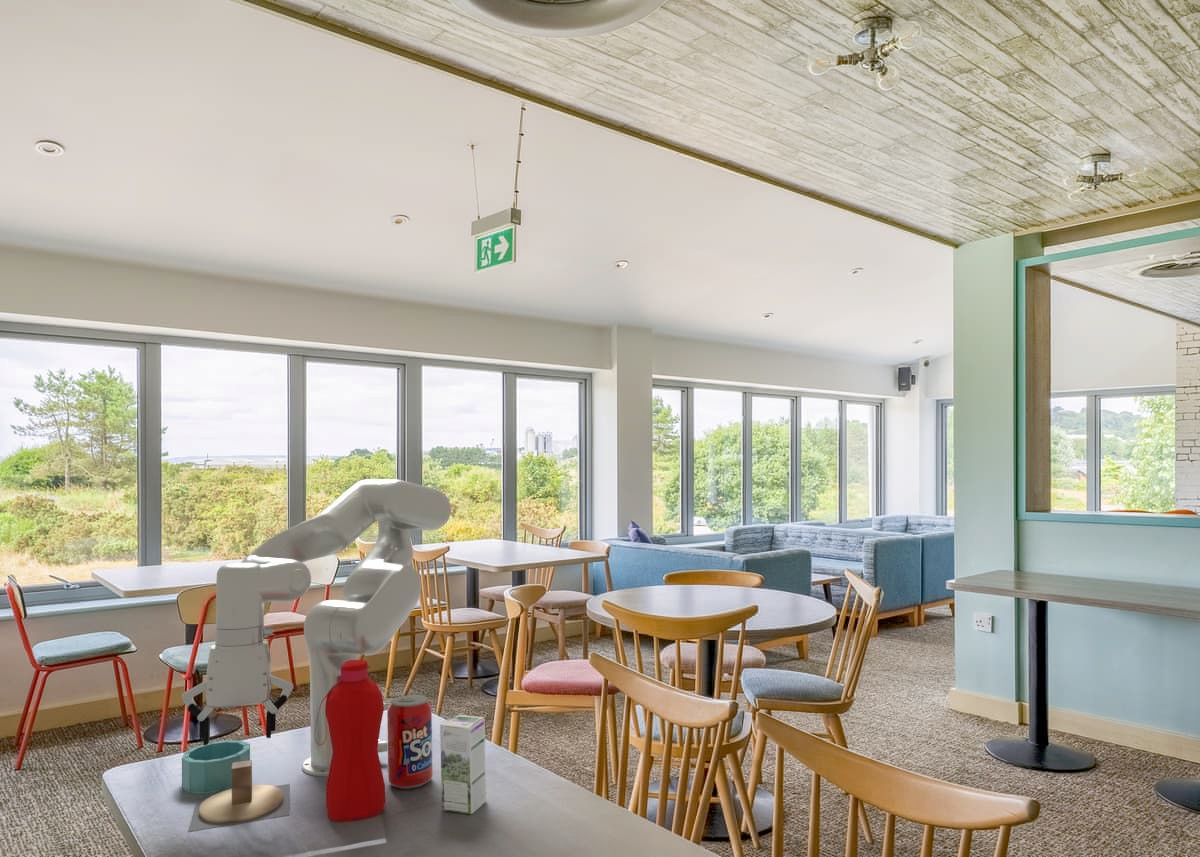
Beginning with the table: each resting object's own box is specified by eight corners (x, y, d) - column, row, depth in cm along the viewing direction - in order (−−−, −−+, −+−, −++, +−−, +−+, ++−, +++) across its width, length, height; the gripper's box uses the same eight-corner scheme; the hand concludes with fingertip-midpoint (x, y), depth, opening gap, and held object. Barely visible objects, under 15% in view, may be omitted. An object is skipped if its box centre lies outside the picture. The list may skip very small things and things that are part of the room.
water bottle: (314, 808, 138) (312, 659, 139) (381, 797, 142) (379, 652, 143) (317, 831, 129) (315, 672, 130) (388, 818, 133) (385, 664, 134)
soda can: (395, 774, 152) (394, 693, 153) (437, 774, 152) (435, 692, 152) (382, 792, 144) (381, 706, 145) (426, 791, 144) (425, 705, 144)
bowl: (251, 768, 157) (251, 737, 157) (248, 790, 146) (248, 756, 146) (186, 778, 153) (186, 745, 153) (178, 801, 142) (178, 766, 142)
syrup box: (487, 801, 139) (486, 715, 140) (471, 816, 134) (469, 726, 134) (457, 797, 141) (456, 712, 142) (440, 812, 136) (438, 723, 136)
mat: (289, 787, 147) (289, 783, 147) (289, 818, 134) (289, 814, 134) (197, 801, 142) (197, 797, 142) (187, 835, 129) (187, 831, 129)
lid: (283, 785, 147) (283, 746, 147) (282, 814, 134) (282, 771, 135) (203, 798, 142) (203, 757, 142) (195, 829, 130) (194, 784, 130)
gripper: (294, 629, 145) (292, 727, 144) (185, 636, 139) (183, 739, 138) (294, 636, 138) (292, 739, 137) (180, 644, 132) (177, 752, 131)
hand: (237, 739), depth 138 cm, fingers open, 9 cm apart
